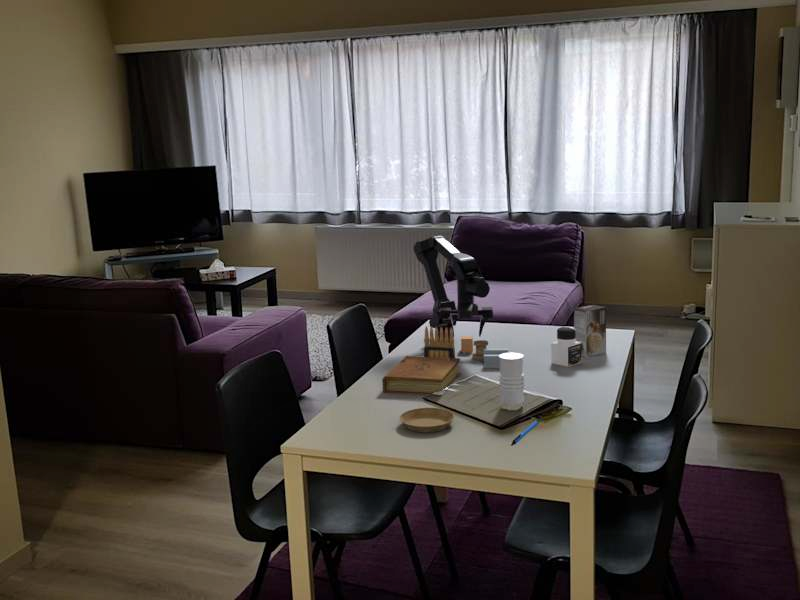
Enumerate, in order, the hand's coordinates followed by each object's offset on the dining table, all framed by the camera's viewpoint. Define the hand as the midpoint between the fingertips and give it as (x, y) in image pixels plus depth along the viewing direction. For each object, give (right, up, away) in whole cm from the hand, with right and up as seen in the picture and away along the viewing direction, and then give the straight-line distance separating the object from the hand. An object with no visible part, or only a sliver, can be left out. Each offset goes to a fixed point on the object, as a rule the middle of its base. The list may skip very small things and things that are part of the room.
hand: (466, 336), depth 300 cm
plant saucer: (-16, -21, -71) cm, 76 cm away
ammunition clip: (-10, -8, -10) cm, 16 cm away
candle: (+8, -17, -60) cm, 63 cm away
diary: (-16, -14, -34) cm, 40 cm away
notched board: (+9, -8, -17) cm, 21 cm away
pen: (+9, -22, -80) cm, 83 cm away
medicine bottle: (+31, -8, -19) cm, 38 cm away
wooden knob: (+4, -7, -8) cm, 12 cm away
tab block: (0, -5, +1) cm, 5 cm away
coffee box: (+42, -5, -8) cm, 43 cm away
